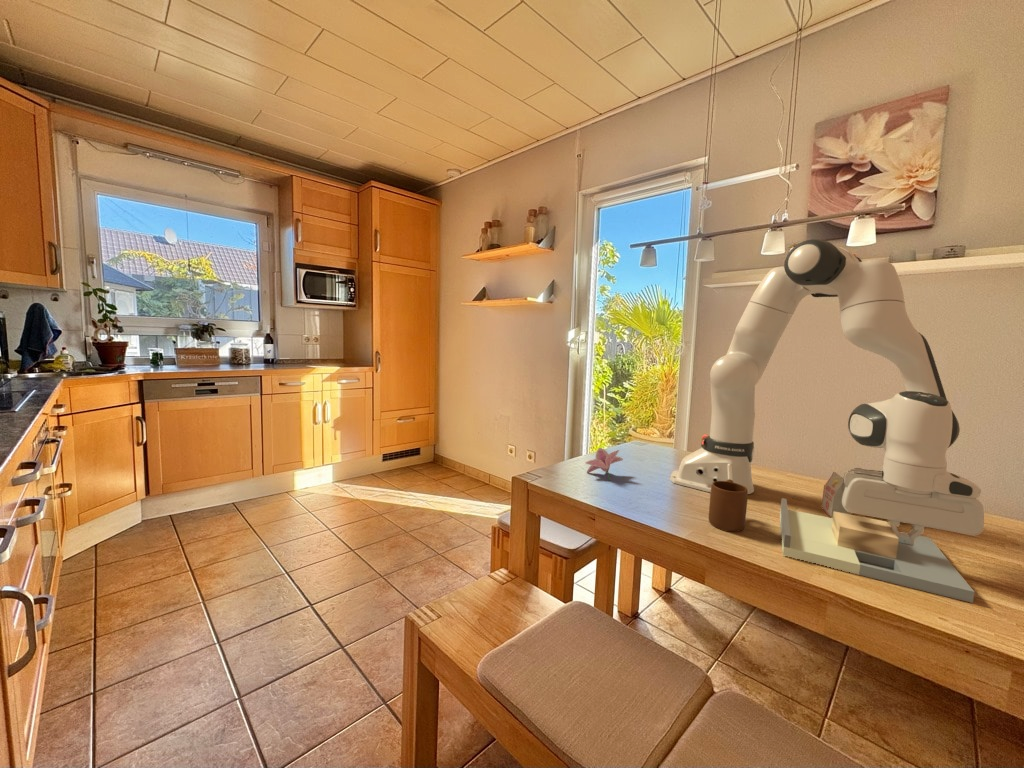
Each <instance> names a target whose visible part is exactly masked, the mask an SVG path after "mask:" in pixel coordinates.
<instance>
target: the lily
mask: <svg viewBox="0 0 1024 768" xmlns="http://www.w3.org/2000/svg"><path fill="white" fill-rule="evenodd" d="M619 452H620V449H617V450H614V451H612V452H609V453H608V451H607V450H605V449H604V448H602V447H599V448H597V450H596V452H595V458H594V459H590V460H588V461H586V462H585V464H586V465H589V467H588V469H587V471H586V474H589V473H592V472H594V471H595V470H599V469H600V470H601V471H603V472H605V473H607V475H608V479H609V482H611V477H610V473H609V471H610V467H611V465H612V464H614V463H618V462H621V461H623V460H624V458H623V457H621V456H617V455H618V454H619Z"/></svg>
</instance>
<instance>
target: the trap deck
mask: <svg viewBox="0 0 1024 768" xmlns="http://www.w3.org/2000/svg"><path fill="white" fill-rule="evenodd" d="M832 520H833V518H830V517H829V516H823V515H819V514H814V513H813V514H812V513H808V512H802V511H798V510H793V509H792V510H791V509H789V507H788V502H787V498H781V500H780V510H779V523H780V537H781V538H780V539H782V540H781V549H782V550H781V552H782V551H783V553H782V556H783V555H785V556H789V557H793V558H796V559H795V560H797V559H800V560H799V561H801V560H804V561H803V562H805V561H808V562H807V563H809V562H812V563H811V564H813V563H816V564H815V565H817V564H820V565H819V566H821V565H824V566H823V567H825V566H827V567H826V568H829V567H831V568H830V569H833V568H834V570H837V569H838V570H837V571H841V570H842V572H846V573H849V572H850V573H849V574H854V575H858V576H862V577H866V578H870V579H873V580H879V581H883V582H886V583H890V584H894V585H898V586H903V587H905V588H906V587H907V588H910V589H914V590H918V591H923V592H928V593H931V594H934V595H939V596H943V597H947V598H951V599H955V600H959V601H963V602H967V603H974V598H975V590H974V589H973V588H972V587H971V586H970V584H969V583H968V582H967V581H966V579H964V577H963V576H962V575H961V574H960V573H959V571H958V570H957V569H956V568H955V566H954V565H953V564H952V563H951V561H950V560H949V559H948V558H947V557H946V556H945V554H944V553H943V552H942V551H941V550H940V549H939V547H938V546H937V544H936V543H934V541H933V540H932V539H931V537H929V536H923V535H919V536H918V537H917V538H915V540H914V546H910V545H905V544H901V543H898V548H897V555H896V558H891V557H887V556H882V555H878V554H873V553H869V552H864V551H860V550H855V549H851V548H847V547H842V546H838V545H837V543H836V540H835V537H834V534H833V532H832V529H831V528H832ZM898 532H901V533H906V534H908V533H909V532H904V531H900V530H898ZM785 556H784V557H785ZM789 557H788V558H789ZM793 558H792V559H793Z"/></svg>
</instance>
